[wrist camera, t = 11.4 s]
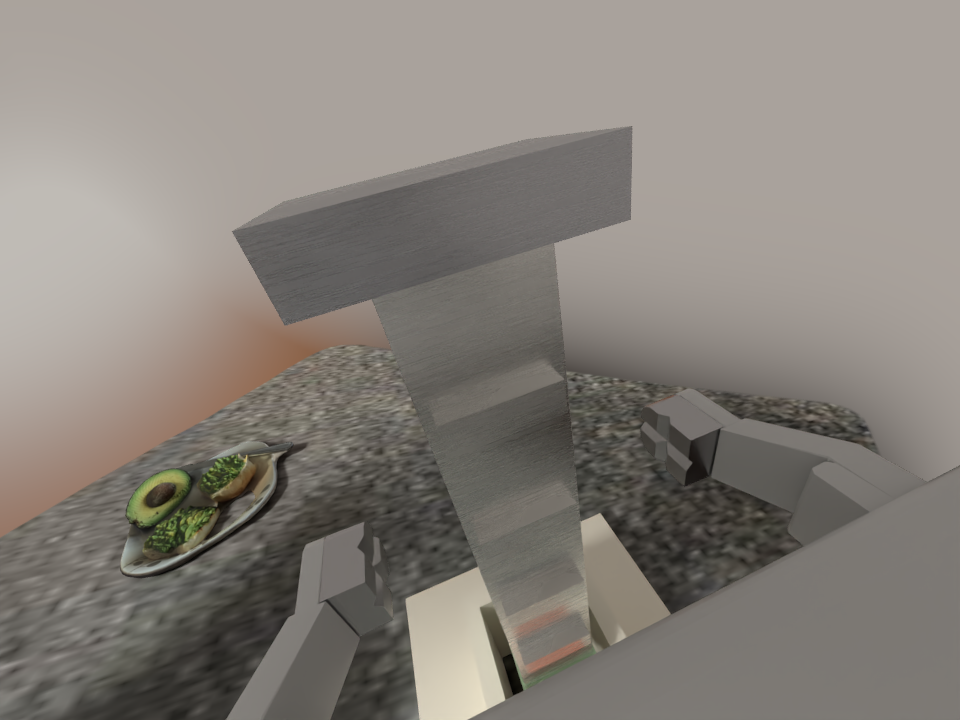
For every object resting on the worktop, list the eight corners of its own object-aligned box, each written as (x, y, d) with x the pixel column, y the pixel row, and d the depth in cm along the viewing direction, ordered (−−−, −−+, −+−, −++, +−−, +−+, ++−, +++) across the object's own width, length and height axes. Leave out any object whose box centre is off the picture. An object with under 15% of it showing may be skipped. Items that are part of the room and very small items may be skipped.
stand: (468, 1053, 15) (387, 1126, 10) (411, 607, 30) (367, 540, 25) (810, 830, 18) (892, 792, 12) (600, 522, 33) (597, 446, 27)
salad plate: (291, 423, 57) (277, 401, 54) (310, 497, 43) (291, 472, 41) (150, 493, 50) (126, 471, 47) (118, 608, 36) (82, 585, 34)
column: (508, 724, 17) (229, 232, 5) (480, 622, 21) (284, 201, 9) (623, 664, 18) (636, 125, 6) (577, 577, 22) (524, 139, 10)
